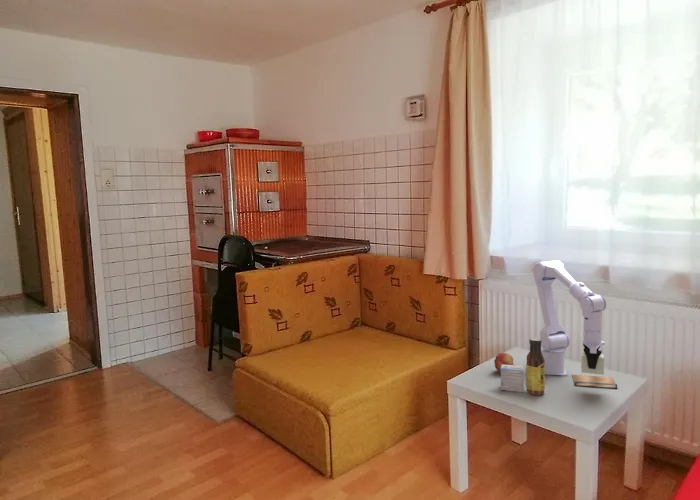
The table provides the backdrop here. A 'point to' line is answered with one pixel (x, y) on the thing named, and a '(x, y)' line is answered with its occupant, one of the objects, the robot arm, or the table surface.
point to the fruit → (503, 360)
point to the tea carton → (599, 366)
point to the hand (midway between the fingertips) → (591, 366)
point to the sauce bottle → (535, 368)
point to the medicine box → (512, 378)
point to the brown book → (594, 381)
